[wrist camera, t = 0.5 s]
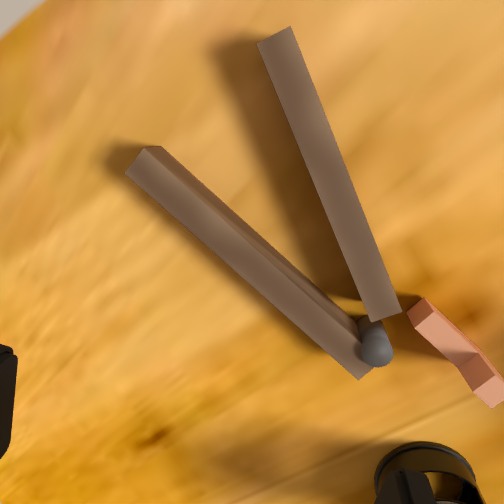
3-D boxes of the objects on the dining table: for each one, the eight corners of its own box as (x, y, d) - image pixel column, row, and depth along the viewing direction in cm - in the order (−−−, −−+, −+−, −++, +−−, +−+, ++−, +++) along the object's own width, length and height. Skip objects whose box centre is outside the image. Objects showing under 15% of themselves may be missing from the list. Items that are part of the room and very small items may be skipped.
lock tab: (424, 297, 36) (446, 330, 30) (480, 350, 36) (514, 392, 30) (405, 312, 36) (424, 347, 30) (462, 364, 37) (491, 408, 31)
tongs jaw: (292, 38, 32) (290, 25, 28) (392, 292, 36) (402, 311, 32) (262, 54, 32) (256, 43, 28) (364, 302, 37) (371, 322, 33)
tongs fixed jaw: (173, 131, 35) (153, 131, 31) (389, 327, 37) (399, 354, 33) (143, 168, 36) (121, 173, 32) (354, 356, 38) (360, 386, 34)
